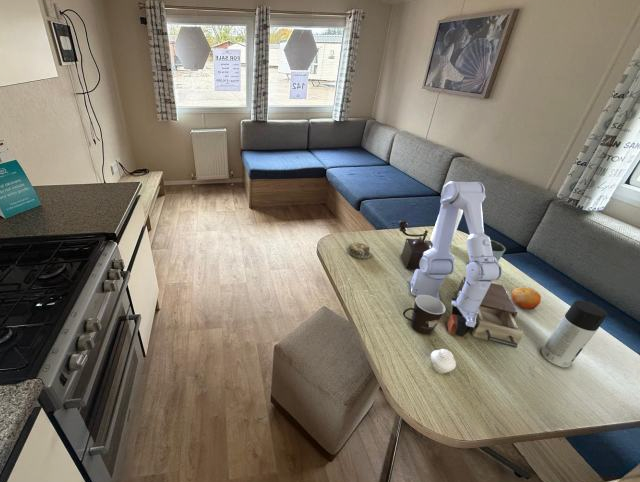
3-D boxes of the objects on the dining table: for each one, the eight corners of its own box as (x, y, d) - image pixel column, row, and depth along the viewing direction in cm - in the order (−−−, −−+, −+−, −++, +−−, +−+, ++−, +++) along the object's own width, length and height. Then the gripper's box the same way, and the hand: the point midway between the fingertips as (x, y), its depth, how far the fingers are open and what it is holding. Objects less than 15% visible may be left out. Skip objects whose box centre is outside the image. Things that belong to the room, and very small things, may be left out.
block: (449, 333, 99) (453, 323, 97) (446, 323, 103) (451, 313, 101) (464, 337, 98) (469, 327, 96) (461, 327, 101) (466, 317, 99)
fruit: (548, 312, 107) (544, 295, 104) (521, 317, 110) (517, 301, 107) (535, 297, 114) (530, 280, 111) (510, 302, 117) (505, 286, 114)
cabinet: (507, 330, 101) (517, 312, 97) (464, 319, 105) (472, 302, 101) (495, 301, 113) (503, 285, 109) (456, 292, 117) (463, 276, 113)
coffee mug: (433, 321, 103) (442, 298, 99) (437, 340, 96) (448, 317, 91) (396, 312, 107) (403, 290, 102) (398, 330, 99) (406, 307, 95)
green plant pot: (498, 270, 130) (509, 246, 124) (487, 279, 125) (499, 254, 119) (472, 259, 137) (482, 236, 132) (461, 266, 132) (471, 242, 126)
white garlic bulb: (455, 380, 84) (464, 363, 81) (431, 376, 85) (439, 359, 82) (446, 360, 90) (454, 344, 86) (424, 357, 91) (431, 340, 87)
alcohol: (449, 240, 151) (471, 183, 137) (451, 249, 144) (474, 189, 130) (429, 236, 154) (448, 180, 140) (430, 245, 147) (450, 186, 133)
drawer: (520, 358, 90) (529, 344, 87) (476, 346, 94) (483, 332, 91) (502, 317, 105) (509, 304, 102) (464, 308, 108) (470, 295, 105)
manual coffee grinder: (424, 257, 137) (436, 222, 129) (432, 272, 128) (446, 235, 119) (388, 253, 140) (397, 218, 131) (393, 267, 130) (404, 230, 122)
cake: (344, 255, 138) (345, 244, 136) (352, 246, 146) (353, 235, 143) (366, 261, 133) (368, 250, 131) (373, 251, 140) (375, 241, 138)
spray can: (572, 372, 88) (612, 320, 78) (542, 361, 91) (577, 310, 81) (566, 355, 93) (604, 305, 83) (538, 345, 96) (571, 296, 86)
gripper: (453, 277, 100) (440, 308, 107) (461, 306, 88) (446, 339, 95) (477, 282, 98) (463, 314, 105) (490, 313, 86) (472, 347, 93)
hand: (457, 327), depth 100 cm, fingers open, 6 cm apart
